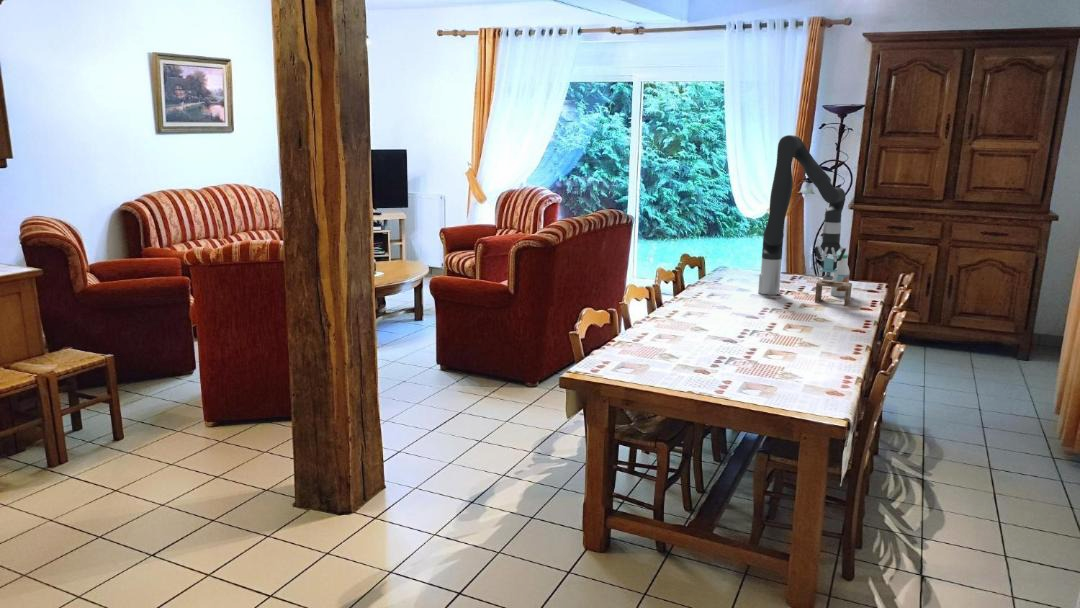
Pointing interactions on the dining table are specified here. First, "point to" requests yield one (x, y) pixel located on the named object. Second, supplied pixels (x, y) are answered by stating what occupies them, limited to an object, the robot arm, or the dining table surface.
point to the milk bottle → (840, 276)
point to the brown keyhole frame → (833, 284)
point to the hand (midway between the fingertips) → (828, 269)
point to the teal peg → (828, 268)
